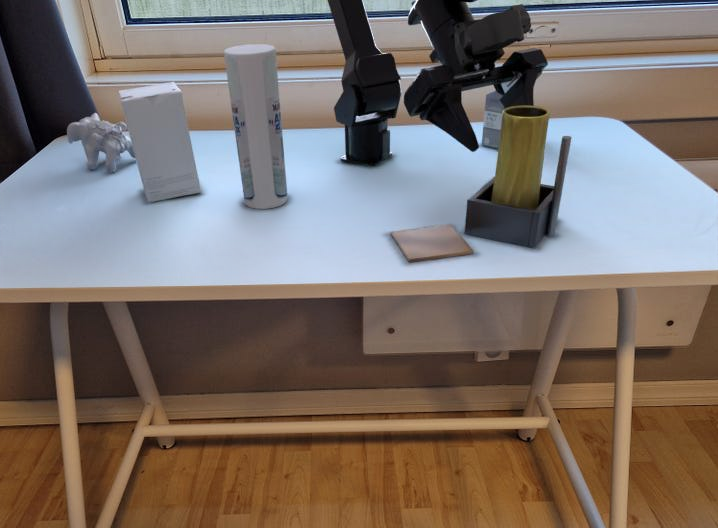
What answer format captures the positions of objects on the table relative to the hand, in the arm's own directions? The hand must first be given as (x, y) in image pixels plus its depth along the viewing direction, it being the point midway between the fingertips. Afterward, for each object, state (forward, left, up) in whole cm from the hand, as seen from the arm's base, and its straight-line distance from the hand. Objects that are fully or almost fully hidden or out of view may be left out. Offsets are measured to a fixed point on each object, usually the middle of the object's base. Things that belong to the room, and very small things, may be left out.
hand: (505, 142), depth 77 cm
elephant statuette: (-67, -8, -10) cm, 68 cm away
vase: (+2, -1, -10) cm, 11 cm away
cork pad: (-5, -10, -10) cm, 15 cm away
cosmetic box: (-47, -12, -10) cm, 49 cm away
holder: (+2, -1, -10) cm, 10 cm away
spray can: (-32, -8, -10) cm, 34 cm away
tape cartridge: (-11, +32, -10) cm, 35 cm away
